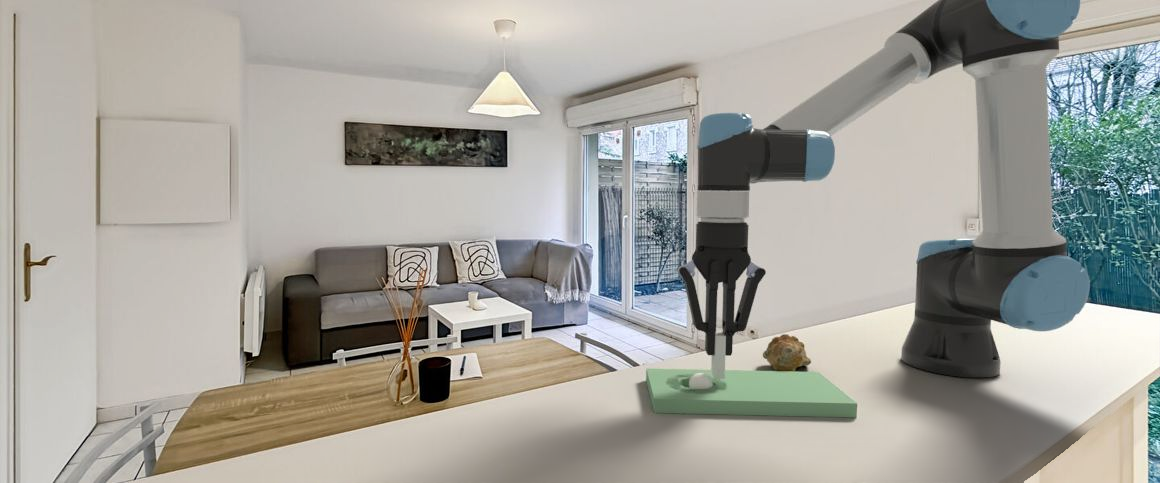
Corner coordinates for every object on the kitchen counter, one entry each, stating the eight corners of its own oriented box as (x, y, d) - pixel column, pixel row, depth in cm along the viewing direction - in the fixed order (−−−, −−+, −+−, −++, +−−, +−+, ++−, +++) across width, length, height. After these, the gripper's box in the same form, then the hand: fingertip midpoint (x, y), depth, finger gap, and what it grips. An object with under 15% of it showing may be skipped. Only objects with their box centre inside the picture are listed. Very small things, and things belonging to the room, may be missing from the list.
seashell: (819, 392, 98) (820, 349, 93) (771, 397, 100) (769, 355, 94) (803, 354, 106) (803, 313, 101) (759, 359, 107) (757, 319, 102)
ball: (696, 365, 88) (682, 384, 88) (700, 371, 85) (686, 391, 85) (714, 379, 88) (700, 397, 88) (720, 386, 85) (705, 405, 85)
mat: (818, 384, 93) (818, 372, 93) (856, 417, 79) (857, 403, 79) (646, 380, 94) (646, 368, 94) (654, 412, 80) (654, 398, 80)
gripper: (759, 219, 88) (754, 369, 90) (674, 218, 88) (671, 367, 90) (774, 222, 80) (768, 385, 82) (681, 221, 81) (677, 383, 83)
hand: (717, 375), depth 86 cm, fingers closed
